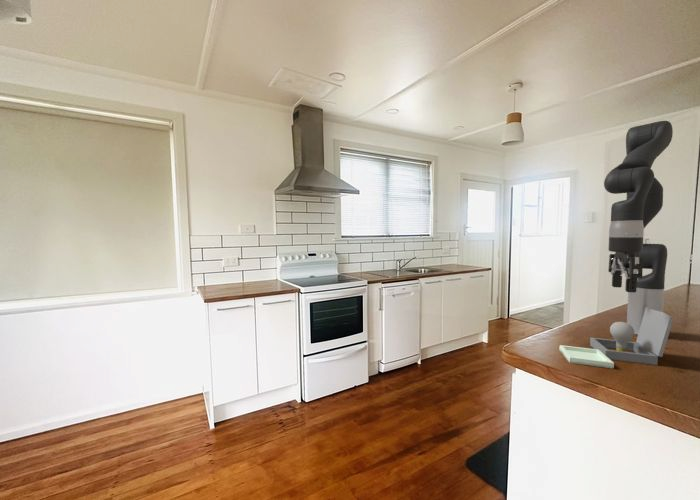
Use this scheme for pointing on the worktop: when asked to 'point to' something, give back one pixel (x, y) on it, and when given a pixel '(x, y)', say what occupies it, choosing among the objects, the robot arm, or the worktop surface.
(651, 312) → the lid
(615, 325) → the light bulb
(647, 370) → the worktop surface
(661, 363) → the worktop surface
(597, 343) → the case
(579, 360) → the tray
